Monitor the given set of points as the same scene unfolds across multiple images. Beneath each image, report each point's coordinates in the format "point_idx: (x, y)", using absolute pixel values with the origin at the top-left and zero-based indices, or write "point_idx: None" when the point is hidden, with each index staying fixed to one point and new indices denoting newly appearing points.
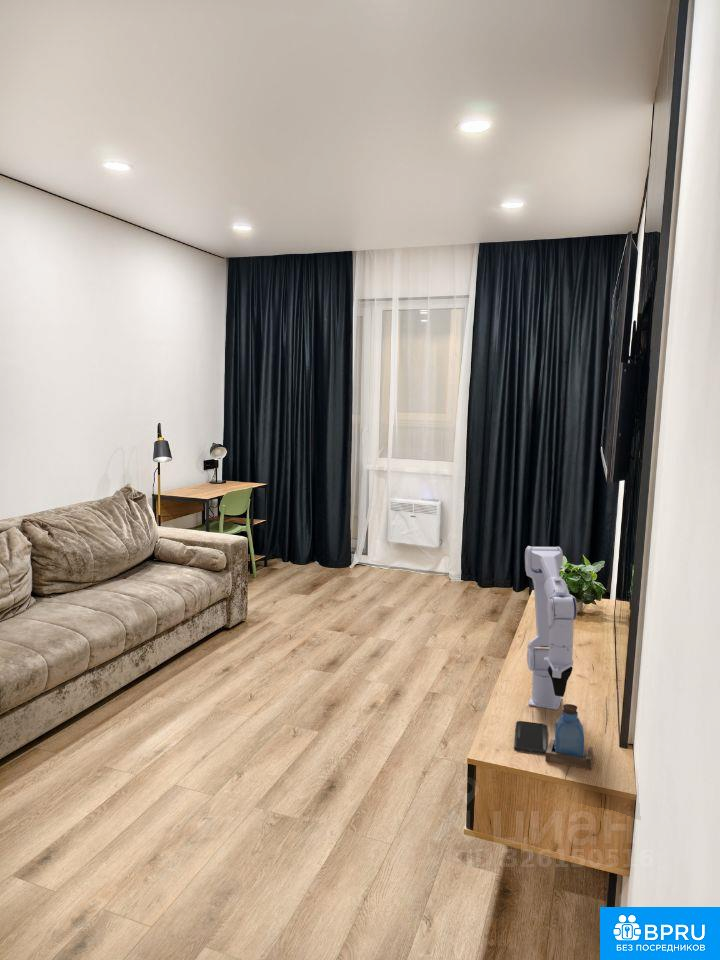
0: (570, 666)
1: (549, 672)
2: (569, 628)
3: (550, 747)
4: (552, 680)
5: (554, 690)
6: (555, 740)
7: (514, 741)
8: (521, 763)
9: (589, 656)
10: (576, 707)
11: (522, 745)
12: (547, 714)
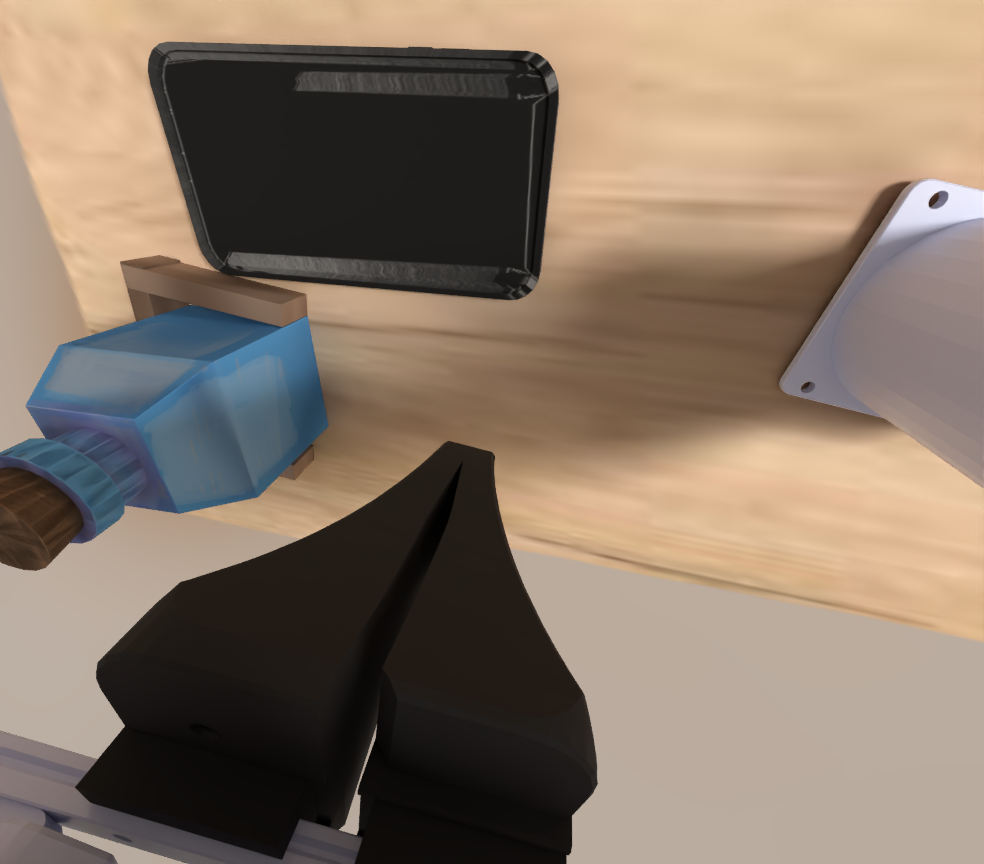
0: None
1: (149, 615)
2: None
3: (185, 293)
4: (328, 529)
5: (424, 463)
6: (198, 330)
7: (219, 43)
8: (50, 109)
9: None
10: (20, 566)
11: (208, 113)
12: (722, 317)
